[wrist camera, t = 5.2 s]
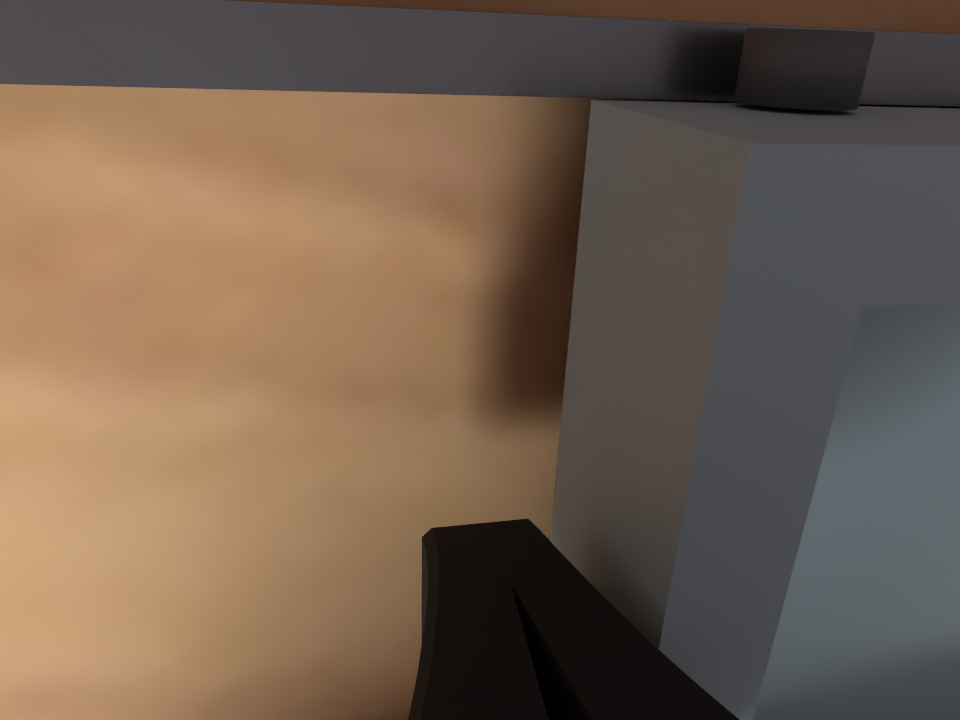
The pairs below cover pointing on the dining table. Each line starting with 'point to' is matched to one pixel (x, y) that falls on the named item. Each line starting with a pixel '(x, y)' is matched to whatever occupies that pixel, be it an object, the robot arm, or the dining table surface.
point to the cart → (773, 387)
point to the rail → (418, 52)
